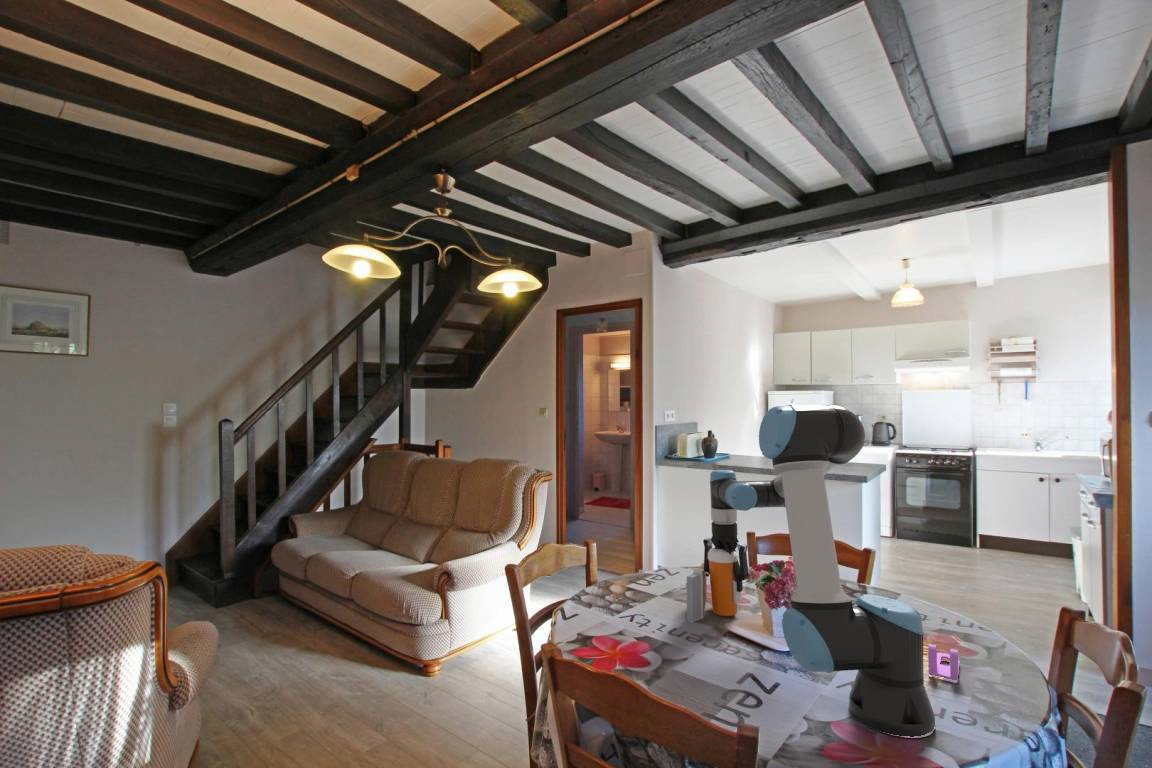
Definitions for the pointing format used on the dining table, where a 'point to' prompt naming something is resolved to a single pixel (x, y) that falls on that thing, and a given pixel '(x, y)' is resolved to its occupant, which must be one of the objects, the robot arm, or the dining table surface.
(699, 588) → the wall
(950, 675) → the bracket
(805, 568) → the robot arm
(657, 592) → the dining table surface
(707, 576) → the door
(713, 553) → the shaker bottle
